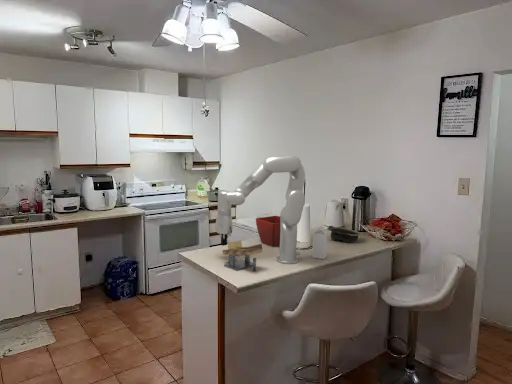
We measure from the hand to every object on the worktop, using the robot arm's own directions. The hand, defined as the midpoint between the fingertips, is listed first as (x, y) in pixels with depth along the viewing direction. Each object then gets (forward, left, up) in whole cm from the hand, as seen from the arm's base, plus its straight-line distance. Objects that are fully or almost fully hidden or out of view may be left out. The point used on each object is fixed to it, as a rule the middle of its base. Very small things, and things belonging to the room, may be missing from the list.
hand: (223, 244), depth 202 cm
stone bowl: (-96, +21, -9) cm, 99 cm away
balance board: (0, +15, -1) cm, 15 cm away
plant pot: (-49, -5, -9) cm, 50 cm away
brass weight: (0, +10, -1) cm, 10 cm away
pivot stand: (0, +15, -9) cm, 17 cm away
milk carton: (-47, +33, -9) cm, 58 cm away
